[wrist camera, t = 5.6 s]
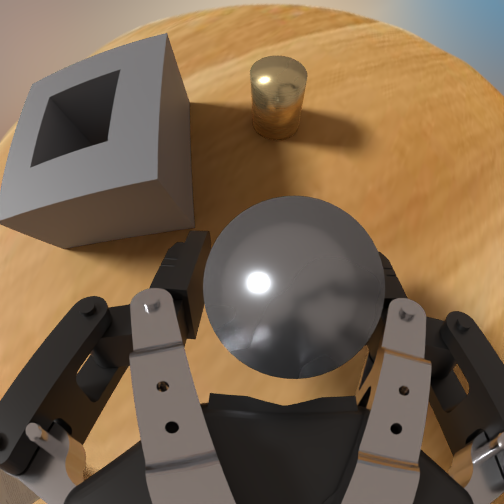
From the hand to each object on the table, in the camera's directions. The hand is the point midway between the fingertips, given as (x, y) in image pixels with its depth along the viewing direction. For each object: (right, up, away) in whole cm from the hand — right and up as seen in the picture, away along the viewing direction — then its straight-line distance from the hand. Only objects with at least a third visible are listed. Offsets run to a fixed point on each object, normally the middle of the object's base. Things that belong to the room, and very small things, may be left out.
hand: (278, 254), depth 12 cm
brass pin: (+1, +9, +7) cm, 12 cm away
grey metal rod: (0, -3, +5) cm, 6 cm away
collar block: (-10, +6, +7) cm, 14 cm away
